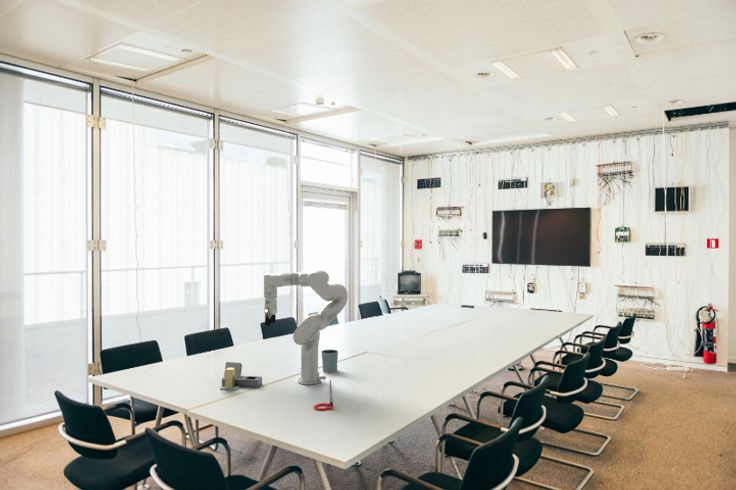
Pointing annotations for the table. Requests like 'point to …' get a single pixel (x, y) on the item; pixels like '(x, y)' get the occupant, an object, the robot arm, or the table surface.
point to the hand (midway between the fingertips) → (270, 324)
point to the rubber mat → (230, 389)
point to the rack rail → (246, 381)
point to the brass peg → (230, 378)
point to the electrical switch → (234, 365)
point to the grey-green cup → (329, 360)
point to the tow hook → (330, 405)
